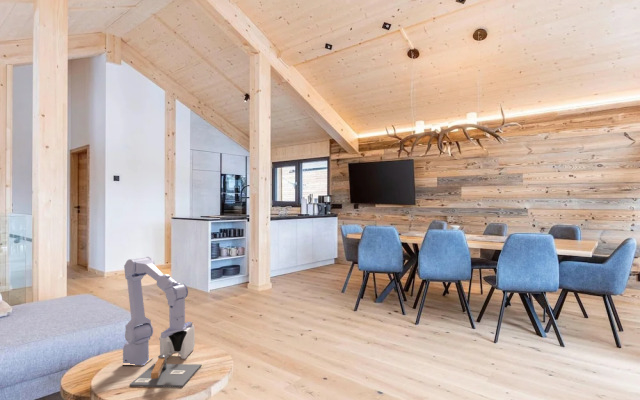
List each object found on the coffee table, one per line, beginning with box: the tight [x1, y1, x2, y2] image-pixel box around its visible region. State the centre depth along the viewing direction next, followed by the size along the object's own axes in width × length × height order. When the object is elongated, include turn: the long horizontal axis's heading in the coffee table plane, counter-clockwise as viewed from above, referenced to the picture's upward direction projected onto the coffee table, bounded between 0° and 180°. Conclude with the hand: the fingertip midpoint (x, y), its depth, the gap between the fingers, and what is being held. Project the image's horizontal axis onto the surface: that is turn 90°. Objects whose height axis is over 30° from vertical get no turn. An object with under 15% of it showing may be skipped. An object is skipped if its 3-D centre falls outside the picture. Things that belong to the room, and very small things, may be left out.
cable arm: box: [151, 354, 167, 379], centre depth 145 cm, size 16×3×5 cm, turn 13°
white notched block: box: [159, 324, 196, 360], centre depth 168 cm, size 15×11×12 cm
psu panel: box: [129, 363, 202, 389], centre depth 147 cm, size 20×18×1 cm
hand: (177, 350), depth 148 cm, fingers closed
